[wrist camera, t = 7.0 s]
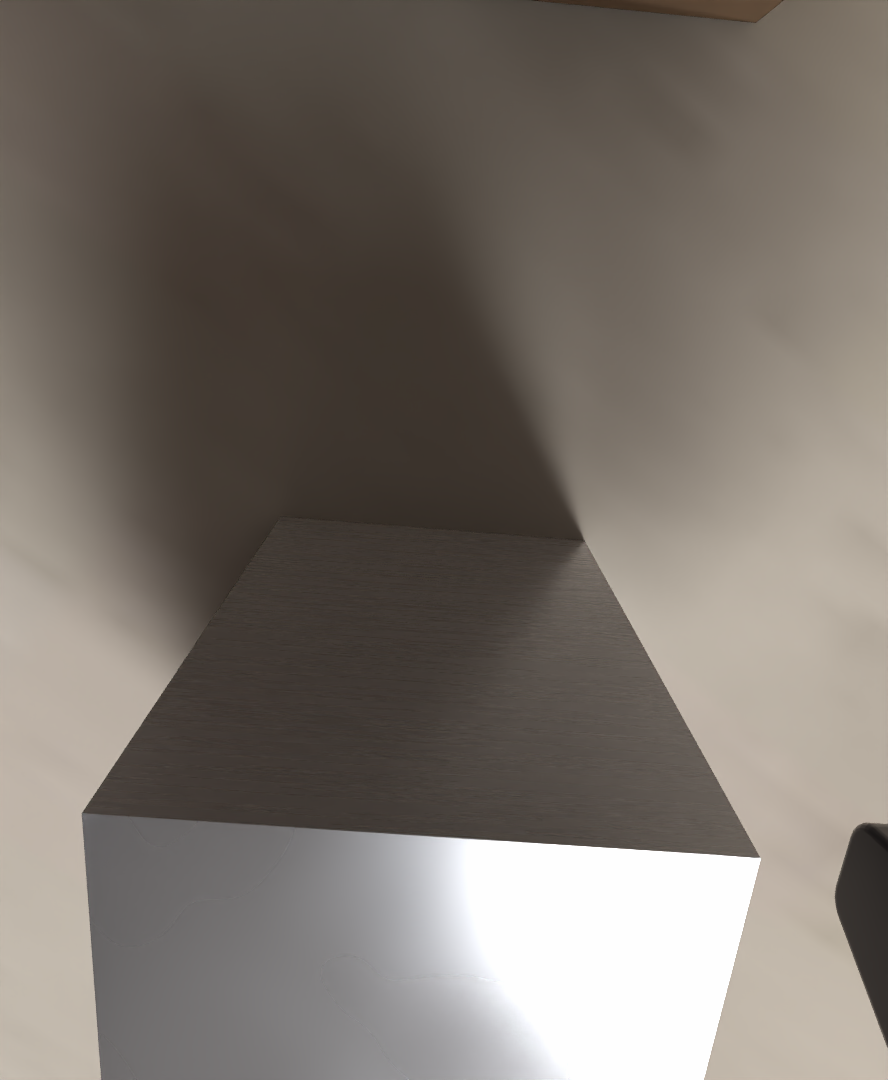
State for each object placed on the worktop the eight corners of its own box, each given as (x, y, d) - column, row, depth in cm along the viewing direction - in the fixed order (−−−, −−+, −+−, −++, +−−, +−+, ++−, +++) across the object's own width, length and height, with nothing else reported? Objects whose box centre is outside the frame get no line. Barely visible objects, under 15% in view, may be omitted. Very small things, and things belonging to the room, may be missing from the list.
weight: (546, 794, 12) (648, 1290, 6) (275, 776, 11) (114, 1265, 6) (584, 540, 10) (761, 857, 5) (280, 517, 10) (81, 814, 5)
